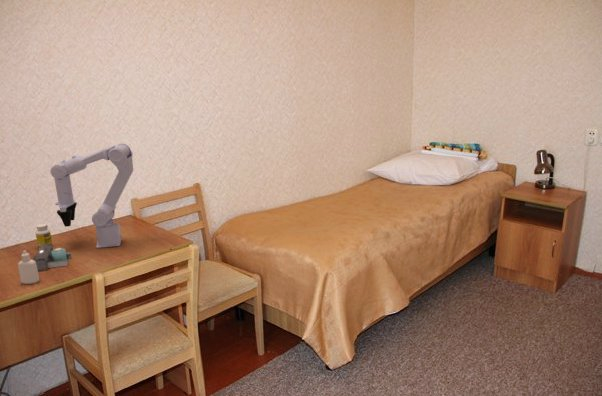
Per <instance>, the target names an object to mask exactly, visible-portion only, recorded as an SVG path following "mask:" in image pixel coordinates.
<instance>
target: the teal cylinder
mask: <svg viewBox="0 0 602 396" xmlns="http://www.w3.org/2000/svg"><path fill="white" fill-rule="evenodd" d="M51 252H52V257H53V260H52V262H54V261H63V260H67V261H68V259H67V256H66V253H67V251H66V249H65V248H64V247H56V248H53V250H52V251H51Z"/></svg>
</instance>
